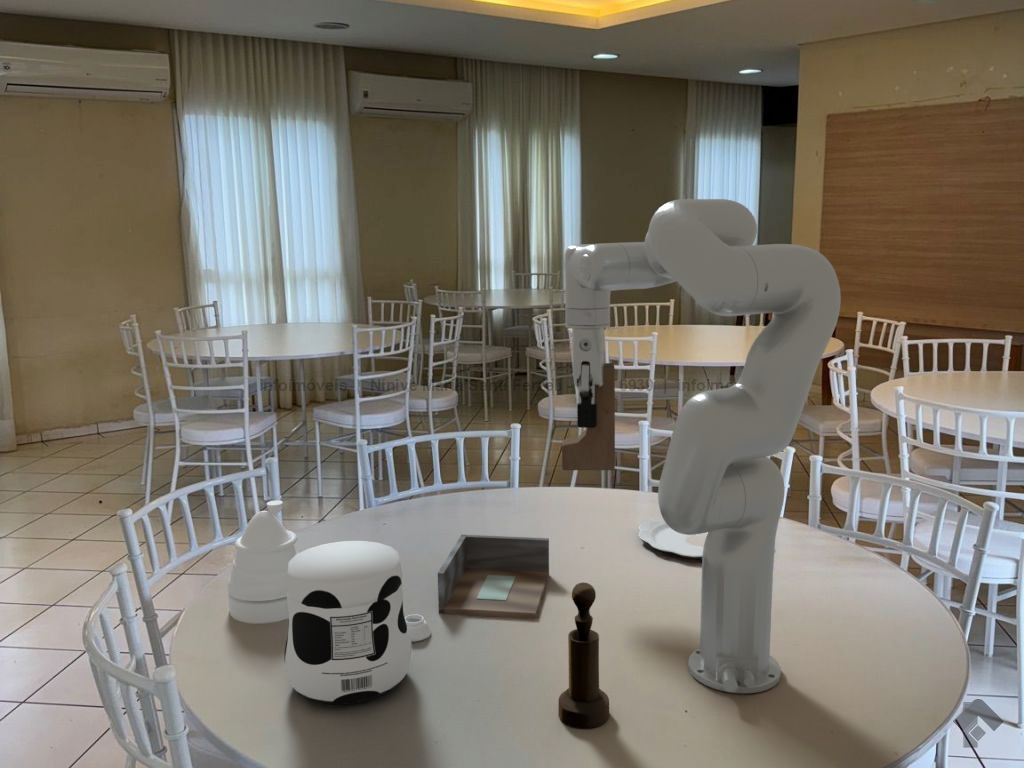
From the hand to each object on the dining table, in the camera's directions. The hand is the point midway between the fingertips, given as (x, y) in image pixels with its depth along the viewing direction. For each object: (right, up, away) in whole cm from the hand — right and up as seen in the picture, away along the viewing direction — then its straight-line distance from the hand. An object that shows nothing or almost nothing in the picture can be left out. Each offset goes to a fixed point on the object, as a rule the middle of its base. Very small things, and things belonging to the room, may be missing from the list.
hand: (588, 422), depth 152 cm
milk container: (-36, -35, -28) cm, 58 cm away
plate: (+25, -25, +23) cm, 42 cm away
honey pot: (-54, -31, -4) cm, 62 cm away
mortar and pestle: (-4, -36, -38) cm, 53 cm away
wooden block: (0, -8, +1) cm, 8 cm away
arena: (-16, -29, 0) cm, 33 cm away
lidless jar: (-28, -33, -15) cm, 46 cm away
